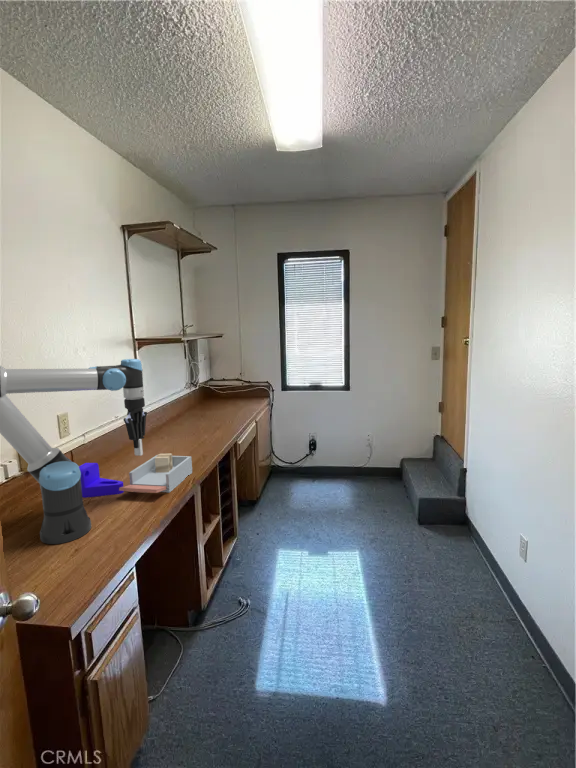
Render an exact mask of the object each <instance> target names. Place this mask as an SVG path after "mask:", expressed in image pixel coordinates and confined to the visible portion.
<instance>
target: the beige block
mask: <svg viewBox="0 0 576 768" xmlns="http://www.w3.org/2000/svg"><path fill="white" fill-rule="evenodd" d="M157 455H158V456H156V455H155V456H156V457H155V466H156V473H161V472H169V471H171V469H172V468H173V463H172V456H173V453H159V454H157Z"/></svg>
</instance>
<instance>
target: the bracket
mask: <svg viewBox="0 0 576 768" xmlns="http://www.w3.org/2000/svg"><path fill="white" fill-rule="evenodd" d="M78 466H79V469H80V472H81V477H80V478H81V487H82V496H83V498H86V499H87V498H95V497H104V496H113V495H121V494H124V492H125V491H119V488H120V487H124V486H125V485H124V481H121V480H116V479H109V478H103V477H101V476H100V468H99V467H100V466H99V463H98V462H85V463H83V464H81V465H78Z"/></svg>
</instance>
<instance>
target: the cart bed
mask: <svg viewBox="0 0 576 768" xmlns="http://www.w3.org/2000/svg"><path fill="white" fill-rule="evenodd" d="M158 455H159V454H156V455H155V456H153V457H151V458H150V459H149V460H146V461H145V462H144V463H142V464H140V465H139V466H137V467H136V468H134V469H132V470H131V471H130V472H128V475H129V485H146V486H166V490H163V491H160V492H159V493H171V492H172V491H174V489H175V488H176V487H178V486H179V485H180V484H181V483H182V482H183V481H184V480H186V479H187V478H188V477H189V476H190V475H191V474H193V465H192V464H193V461H192V456H189V455H188V456H187V455H186V456H185V455H172V463H173V468H172V469H171V471H169V472H161V473H156V466H155V457H156V456H158ZM188 475H189V476H188ZM187 476H188V477H187ZM186 477H187V478H186ZM185 478H186V479H185Z"/></svg>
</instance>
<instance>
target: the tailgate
mask: <svg viewBox="0 0 576 768" xmlns="http://www.w3.org/2000/svg"><path fill="white" fill-rule="evenodd" d="M123 486H124V487H120V488H119V491H124V492H133V493H154V494H155V493H161V492H160V491H163V490H166V486H146V485H130V484H128V485H123Z"/></svg>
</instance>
